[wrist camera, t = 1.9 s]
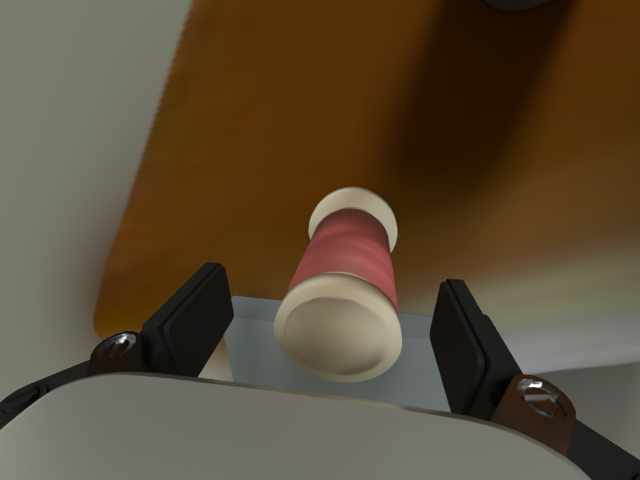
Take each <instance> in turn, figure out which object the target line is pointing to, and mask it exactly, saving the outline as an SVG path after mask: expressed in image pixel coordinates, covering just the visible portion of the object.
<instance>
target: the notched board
mask: <svg viewBox="0 0 640 480" xmlns="http://www.w3.org/2000/svg"><path fill="white" fill-rule="evenodd" d="M231 300H232V305H233V310H234V318H233V320H232V322H231V324H230V325H229V327H228V329H227V330H226V332H225V333H224V339H225V343H226V348H227V352H228V356H229V360H230V365H231V369H232V373H233V377H234V382H236V383H244V384H252V385H260V386H267V387H275V388H283V389H290V390H298V391H305V392H313V393H320V394H328V395H335V396H342V397H349V398H357V399H364V400H371V401H378V402H386V403H393V404H400V405H407V406H413V407H419V408H426V409H432V410H439V411H445V412H451V411H450V407H449V404H448V401H447V397H446V394H445V390H444V387H443V383H442V380H441V376H440V373H439V369H438V366H437V362H436V359H435V356H434V352H433V349H432V345H431V342H430V335H429V334H430V328H431V323H432V319H433V316H425V315H415V314H406V313H398V315H399V319H400V326H401V334H402V349H401V352H400V355H399V357H398V359H397V360H396V362H395V363H394V365H393V366H392V367H391V368H390V369H388V370H387V371H386V372H384V373H383V374H381V375H379V376H377V377H374V378H372V379H369V380H365V381H359V382H335V381H330V380H325V379H322V378H319V377H316V376H313V375H311V374H309V373H307V372H305V371H304V370H302V369H300V368H299V367H297V366H296V365H295V364H293V363H292V362H291V361H290V360H289V359H288V358H287V357H286V356H285V355H284V353H283V352H282V350H281V349H280V347H279V345H278V343H277V341H276V338H275V333H274V321H275V317H276V314H277V312H278V310H279V308H280V305H281V303H282V301H281V300H272V299H262V298H252V297H243V296H233V297H232V298H231Z"/></svg>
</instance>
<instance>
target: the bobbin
mask: <svg viewBox="0 0 640 480" xmlns="http://www.w3.org/2000/svg"><path fill="white" fill-rule="evenodd" d="M309 238H310V242H309V245H308V247H307V249H306V251H305V253H304V255H303V258H302V260H301V262H300V264H299V266H298V268H297V271H296V273H295V275H294V277H293V279H292V281H291V284H290V286H289V288H288V291H287V294H286V295H285V297H284V299H283V301H282V303H281V305H280V308H279V310H278V312H277V314H276V317H275V321H274V333H275V338H276V341H277V343H278V345H279V347H280V349H281V350H282V352H283V353H284V355H285V356H286V357H287V358H288V359H289V360H290V361H291V362H292V363H293V364H295V365H296V366H297V367H299V368H300V369H302V370H304V371H305V372H307V373H309V374H311V375H313V376H316V377H319V378H322V379H325V380H330V381H335V382H359V381H365V380H369V379H372V378H374V377H377V376H379V375H381V374H383V373H384V372H386V371H387V370H388V369H390V368H391V367H392V366H393V365H394V363H395V362H396V360H397V359H398V357H399V355H400V352H401V349H402V334H401V326H400V319H399V315H398V304H397V297H396V289H395V282H394V274H393V267H392V260H391V252H392V250H393V248H394V246H395V244H396V240H397V224H396V220H395V216H394V213H393V211H392V209H391V207H390V205H389V204H388V203H387V202H386V200H385V199H383V198H382V197H381V196H380V195H378V194H377V193H375V192H373V191H371V190H369V189H366V188H361V187H345V188H341V189H337V190H335V191H333V192H331V193H330V194H328V195H327V196H325V197H324V198H323V199H322V200H321V201H320V202H319V204H318V205H317V207H316V208H315V210H314V212H313V214H312V216H311V219H310V223H309Z"/></svg>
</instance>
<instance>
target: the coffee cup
mask: <svg viewBox="0 0 640 480" xmlns="http://www.w3.org/2000/svg"><path fill="white" fill-rule="evenodd" d="M484 1H485V2H486V3H488V4H489V5H490V6H491V7H495V8H498V9H502V10H506V11H516V10H525V9H530V8H533V7H536V6H538V5H541V4H544V3H546V2H549V1H552V0H484Z"/></svg>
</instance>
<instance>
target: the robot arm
mask: <svg viewBox="0 0 640 480" xmlns="http://www.w3.org/2000/svg"><path fill="white" fill-rule="evenodd" d="M233 318H234V310H233V305H232V300H231V295H230V290H229V285H228V280H227V275H226V270H225V268H224V267H222V265H221V264H220V263H210V262H207V263H205V264H204V265H203V266H202V267H201V268H200V269H199V270H198V271H197V272H196V273H195V274H194V275H193V276H192V277H191V278H190V279H189V280H188V281H187V282H186V283H185V284H184V285H183V286H182V287H181V288H180V289H179V290H178V291H177V292H176V293H175V294H174V295H173V296H172V297H171V298H170V299H169V300H168V301H167V302H166V303H165V304H164V305H163V306H162V307H161V308H159V309H158V310H157V311H156V312H155V313H154V314H153V315H152V316H151V317H150V318H149V319H148V320H147V321H146V322H145V323H144V324H143V325H142V327H143V330H142V331H141V332H140V333H138V332H136V331H123V332H119V333H116V334H114V335H111V336H109V337H108V338H106V339H104V340H103V341H102V342H100V343H99V344H98V345H97V346H96V347H95V348H94V349H93V351H92V353H91V355H90V360H88V361H85V362H83V363H81V364H78V365H75V366H73V367H71V368H68V369H66V370H63V371H61V372H58V373H56V374H53V375H51V376H48V377H46V378H44V379H41V380H39V381H36V382H34V383H31V384H29V385H27V386H25V387H22V388H21V389H18V390H17V391H15V392H13V393H12V394H10V395H9V396H8V397H6V398H5V399H4V400H3V401H1V402H0V480H640V460H639V459H637V458H635V457H634V456H632V455H631V454H629V453H628V452H626V451H625V450H623V449H621V448H620V447H619V446H617V445H615V444H614V443H612V442H611V441H609V440H608V439H606V438H605V437H603V436H602V435H600V434H598V433H597V432H595V431H594V430H592V429H591V428H589V427H587V426H586V425H585V424H583V423H581V422H580V421H578V420H577V419H576V411H575V408H574V406H573V404H572V403H571V401H570V400H569V399H568V397H567V396H566V395H565V394H564V393H563V392H562V391H561V390H559V389H558V388H557V387H556V386H554V385H553V384H551V383H550V382H548V381H546V380H544V379H541V378H539V377H536V376H532V375H526V374H523V373H522V371H521V369H520V368H519V366H518V364H517V363H516V361H515V359H514V358H513V356H512V354H511V353H510V351H509V349H508V348H507V346H506V345H505V343H504V341H503V340H502V338H501V336H500V335H499V333H498V331H497V330H496V328H495V326H494V325H493V323H492V321H491V320H490V318H489V317H488V316H487V315H483V313H482V311H481V310H480V308H479V306H478V305H477V303H476V301H475V299H474V298H473V296H472V294H471V293H470V291H469V289H468V287H467V286H466V284H465V282H464V281H463V280H457V279H447V280H446V281H445V282H441V285H440V289H439V293H438V297H437V302H436V306H435V310H434V315H433V319H432V323H431V328H430V334H429V335H430V342H431V345H432V349H433V352H434V356H435V359H436V362H437V366H438V369H439V373H440V376H441V380H442V383H443V387H444V390H445V394H446V397H447V401H448V404H449V407H450V411H451V412H445V411H439V410H432V409H426V408H419V407H413V406H407V405H400V404H393V403H386V402H378V401H371V400H364V399H357V398H349V397H342V396H335V395H328V394H320V393H313V392H305V391H298V390H290V389H283V388H275V387H267V386H260V385H252V384H244V383H236V382H229V381H221V380H213V379H205V378H197V377H198V376H199V374H200V372H201V371H202V369H203V368H204V366H205V364H206V363H207V361H208V359H209V358H210V356H211V355H212V353H213V351H214V350H215V348H216V346H217V345H218V343H219V342H220V340H221V338H222V337H223V335H224V333H225V332H226V330H227V329H228V327H229V325H230V324H231V322H232V320H233Z"/></svg>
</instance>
